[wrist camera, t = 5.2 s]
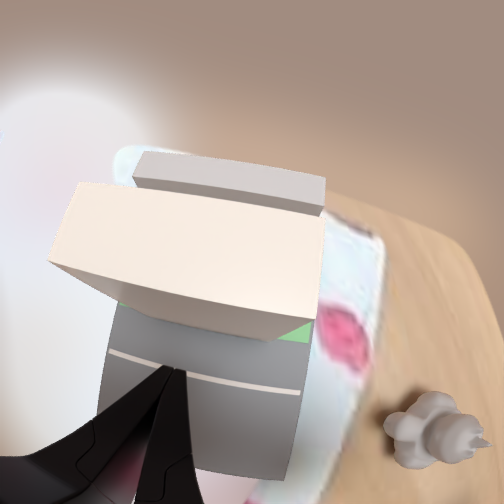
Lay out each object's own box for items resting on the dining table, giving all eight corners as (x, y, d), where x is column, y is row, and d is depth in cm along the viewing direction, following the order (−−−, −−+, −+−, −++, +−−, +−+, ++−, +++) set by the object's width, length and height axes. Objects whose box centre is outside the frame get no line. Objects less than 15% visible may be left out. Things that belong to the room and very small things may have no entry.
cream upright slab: (269, 342, 15) (315, 319, 6) (112, 306, 16) (-1, 244, 6) (279, 278, 17) (327, 178, 7) (128, 250, 17) (44, 149, 8)
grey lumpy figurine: (422, 462, 13) (491, 489, 6) (354, 451, 14) (418, 494, 7) (448, 399, 15) (525, 401, 8) (386, 379, 16) (466, 383, 8)
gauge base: (281, 474, 13) (304, 530, 7) (101, 431, 14) (40, 456, 7) (319, 241, 19) (355, 184, 13) (151, 212, 19) (119, 149, 13)
